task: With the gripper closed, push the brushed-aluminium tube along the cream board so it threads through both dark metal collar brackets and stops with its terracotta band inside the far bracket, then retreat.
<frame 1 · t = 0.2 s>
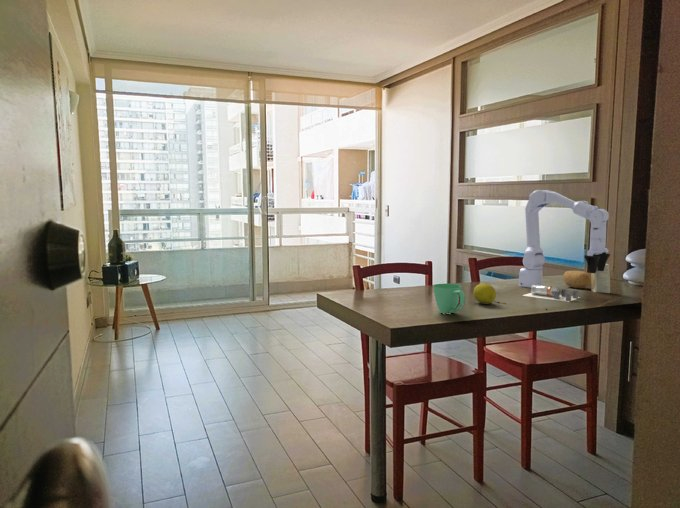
hand: (596, 272, 205), 10 cm above the table, fingers open, 7 cm apart
board: (550, 298, 203), on the table
lemon: (484, 304, 196), on the table
mug: (450, 314, 179), on the table
collar 2: (571, 301, 197), resting on board
collar 1: (560, 299, 200), resting on board
tube: (544, 295, 205), point 1 cm above the table, touching board
potato: (576, 288, 224), on the table
skincare box: (600, 293, 212), on the table, touching gripper
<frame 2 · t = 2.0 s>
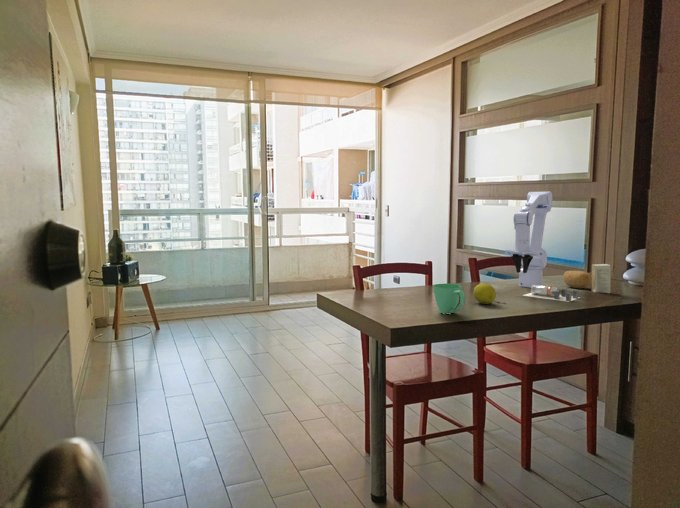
hand: (521, 272, 211), 9 cm above the table, fingers closed
skincare box: (600, 293, 212), on the table
everything else where it was.
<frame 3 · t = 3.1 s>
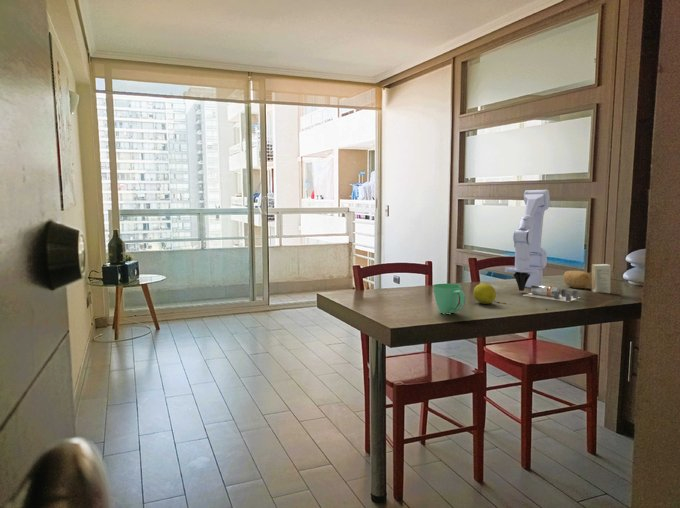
hand: (521, 290, 212), 2 cm above the table, fingers closed
nothing on the table moved.
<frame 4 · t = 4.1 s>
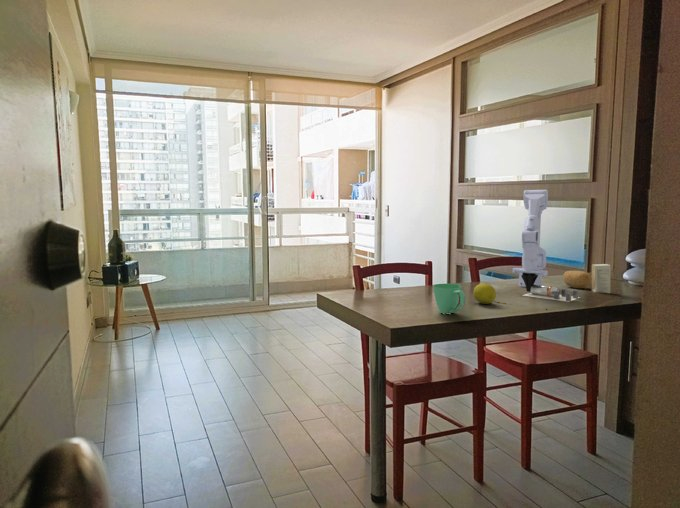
hand: (529, 291, 209), 2 cm above the table, fingers closed
tube: (544, 295, 205), point 1 cm above the table, touching gripper
everything else where it was.
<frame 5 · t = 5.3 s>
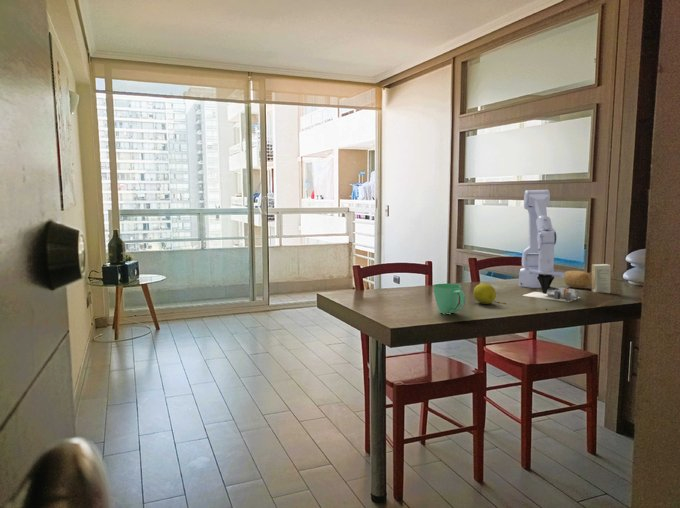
hand: (545, 293, 204), 2 cm above the table, fingers closed
tube: (561, 297, 200), point 1 cm above the table, touching gripper
everything else where it was.
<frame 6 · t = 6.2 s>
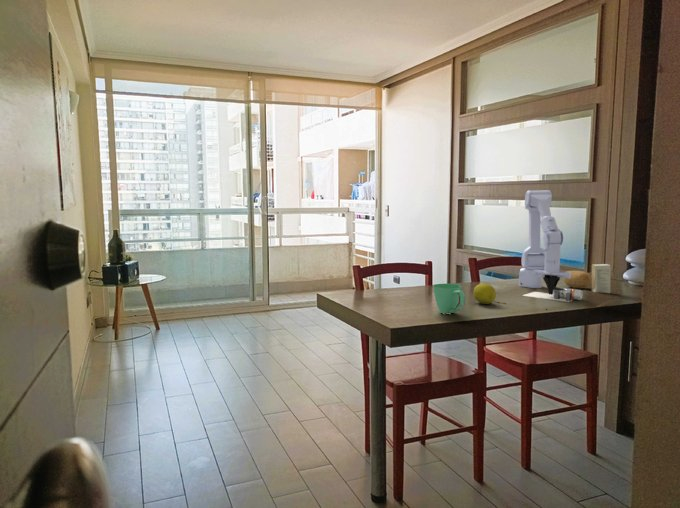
hand: (551, 294, 203), 2 cm above the table, fingers closed
tube: (567, 298, 198), point 1 cm above the table, touching board, gripper
everything else where it was.
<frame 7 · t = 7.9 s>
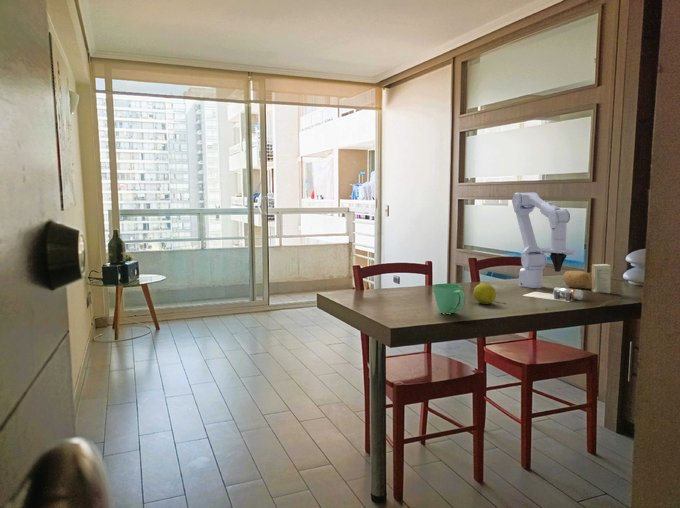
hand: (557, 271, 209), 10 cm above the table, fingers closed
tube: (567, 298, 198), point 1 cm above the table, tilted 10°, touching board
everything else where it was.
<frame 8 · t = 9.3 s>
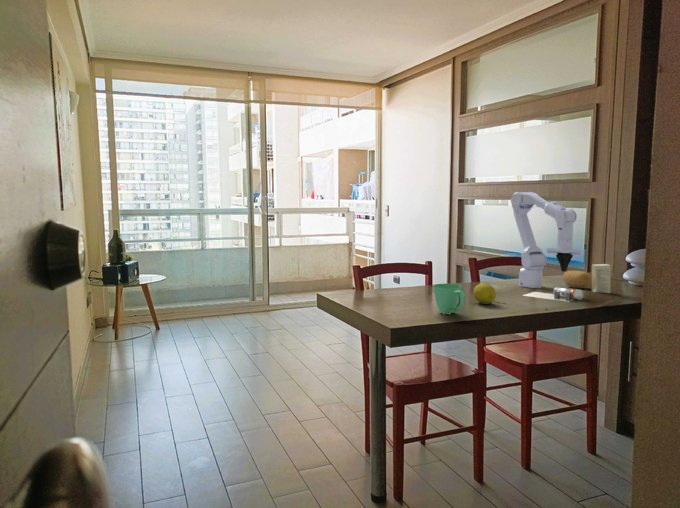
hand: (564, 271, 209), 10 cm above the table, fingers closed
nothing on the table moved.
at the end: tube 0.7 cm from the target spot on the table beside the collar 2, point 0.9 cm above the table; tube moved 9.2 cm from its start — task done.
